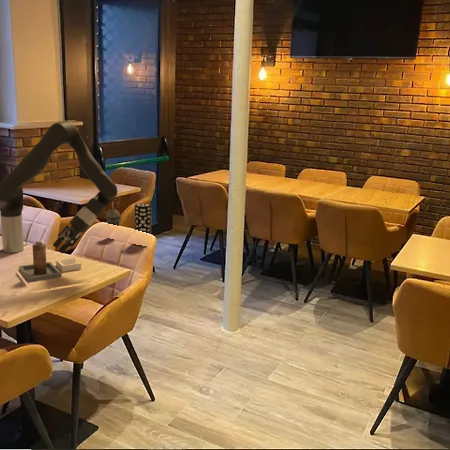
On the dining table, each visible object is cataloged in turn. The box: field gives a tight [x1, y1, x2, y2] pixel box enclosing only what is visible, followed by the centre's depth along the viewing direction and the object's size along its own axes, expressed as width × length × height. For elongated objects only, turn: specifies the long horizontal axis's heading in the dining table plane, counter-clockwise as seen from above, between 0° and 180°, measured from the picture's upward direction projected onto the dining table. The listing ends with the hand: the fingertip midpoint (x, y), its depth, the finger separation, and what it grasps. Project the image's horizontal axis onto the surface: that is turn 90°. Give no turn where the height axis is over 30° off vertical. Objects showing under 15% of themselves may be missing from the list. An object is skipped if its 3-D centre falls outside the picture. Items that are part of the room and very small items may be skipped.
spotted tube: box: [134, 202, 152, 235], centre depth 262 cm, size 8×8×20 cm
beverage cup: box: [105, 200, 121, 227], centre depth 269 cm, size 7×7×20 cm
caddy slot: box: [55, 257, 82, 273], centre depth 221 cm, size 9×8×4 cm
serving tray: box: [18, 261, 63, 283], centre depth 213 cm, size 16×13×2 cm
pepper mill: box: [32, 240, 47, 275], centre depth 211 cm, size 5×5×13 cm
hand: (57, 249), depth 214 cm, fingers open, 8 cm apart
